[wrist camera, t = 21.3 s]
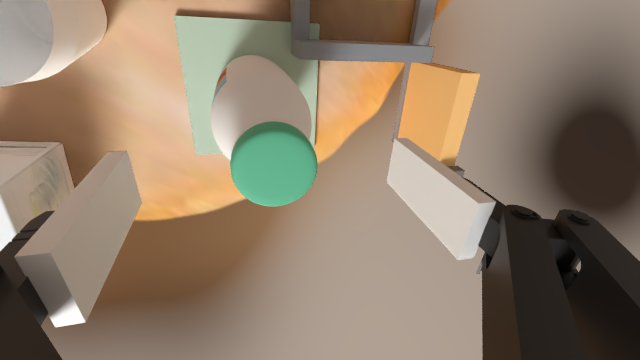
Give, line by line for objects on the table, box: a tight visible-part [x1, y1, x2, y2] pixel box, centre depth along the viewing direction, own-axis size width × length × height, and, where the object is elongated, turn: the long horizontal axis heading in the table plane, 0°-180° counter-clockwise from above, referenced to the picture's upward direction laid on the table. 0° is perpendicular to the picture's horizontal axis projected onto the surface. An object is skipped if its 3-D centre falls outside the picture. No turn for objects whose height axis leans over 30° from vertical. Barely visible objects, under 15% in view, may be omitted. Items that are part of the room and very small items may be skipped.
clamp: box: [290, 0, 437, 143], centre depth 31 cm, size 25×16×6 cm, turn 177°
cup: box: [0, 0, 107, 87], centre depth 21 cm, size 9×9×12 cm
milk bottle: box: [211, 55, 317, 206], centre depth 24 cm, size 8×8×20 cm
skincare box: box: [0, 141, 75, 251], centre depth 28 cm, size 10×6×10 cm, turn 173°
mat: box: [174, 16, 320, 155], centre depth 33 cm, size 14×14×1 cm
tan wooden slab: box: [398, 62, 480, 177], centre depth 33 cm, size 11×3×10 cm, turn 177°
